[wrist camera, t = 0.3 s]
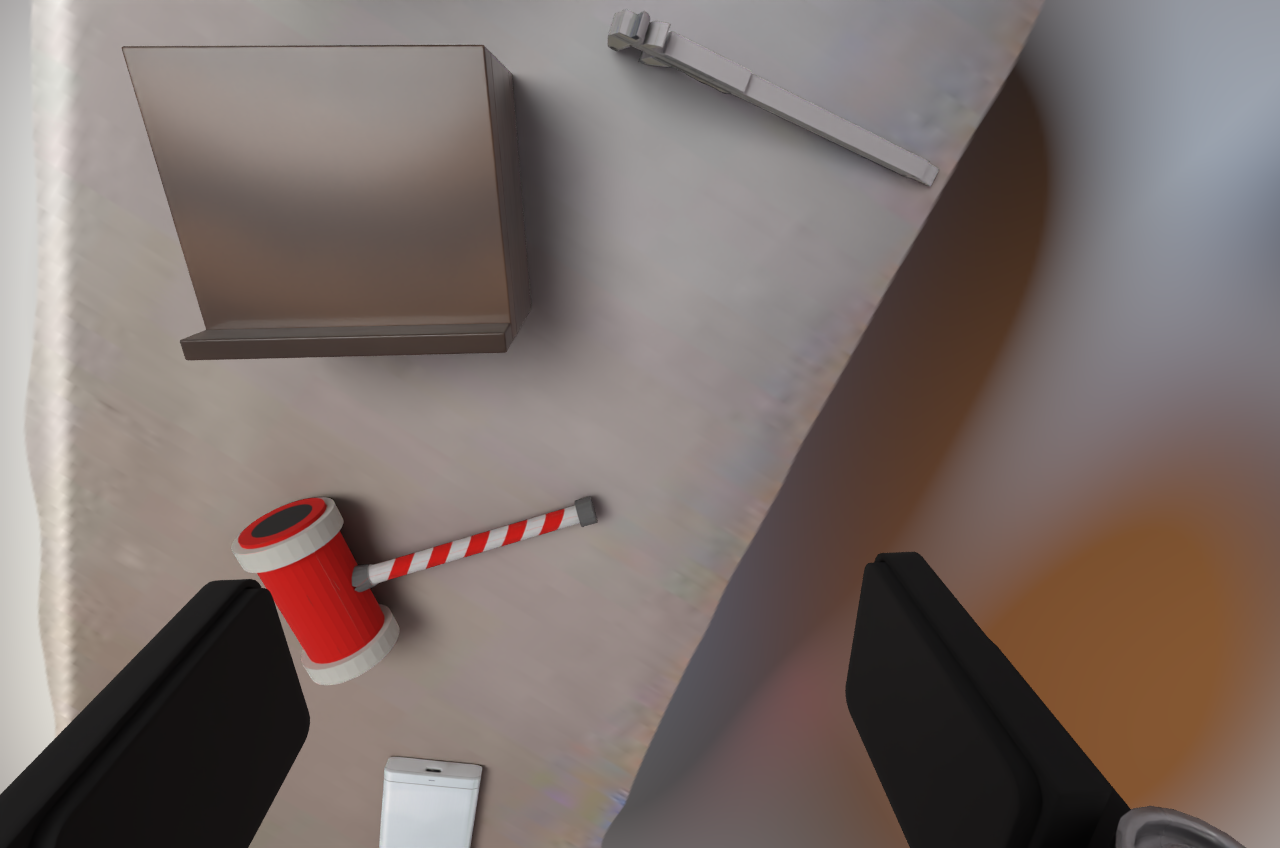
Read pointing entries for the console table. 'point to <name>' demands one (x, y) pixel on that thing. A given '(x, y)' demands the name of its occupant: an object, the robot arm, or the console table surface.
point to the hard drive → (428, 803)
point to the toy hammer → (352, 579)
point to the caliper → (757, 91)
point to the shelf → (341, 196)
